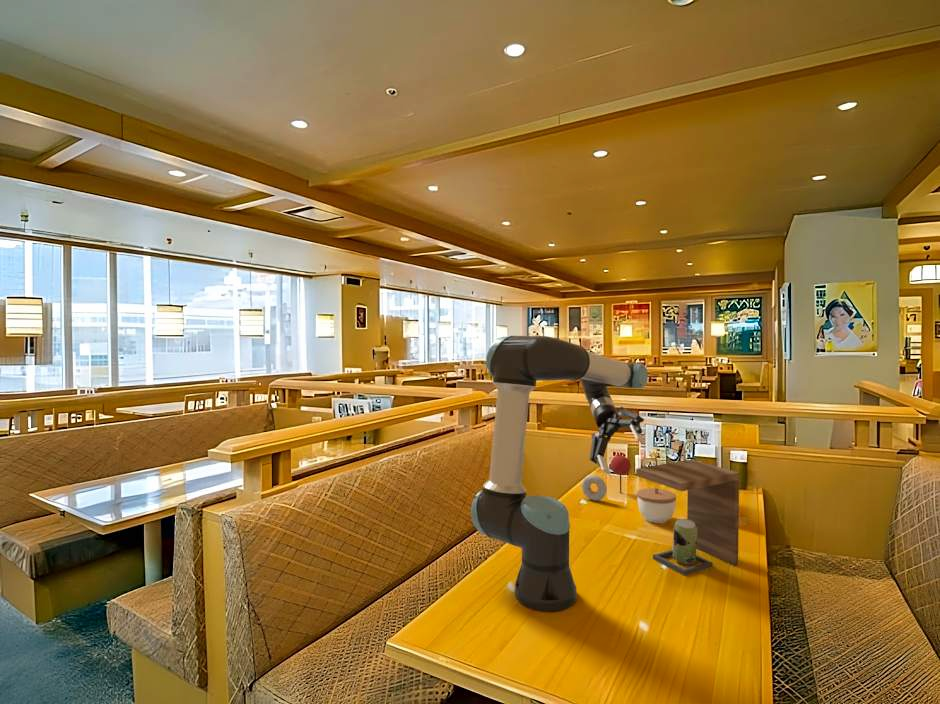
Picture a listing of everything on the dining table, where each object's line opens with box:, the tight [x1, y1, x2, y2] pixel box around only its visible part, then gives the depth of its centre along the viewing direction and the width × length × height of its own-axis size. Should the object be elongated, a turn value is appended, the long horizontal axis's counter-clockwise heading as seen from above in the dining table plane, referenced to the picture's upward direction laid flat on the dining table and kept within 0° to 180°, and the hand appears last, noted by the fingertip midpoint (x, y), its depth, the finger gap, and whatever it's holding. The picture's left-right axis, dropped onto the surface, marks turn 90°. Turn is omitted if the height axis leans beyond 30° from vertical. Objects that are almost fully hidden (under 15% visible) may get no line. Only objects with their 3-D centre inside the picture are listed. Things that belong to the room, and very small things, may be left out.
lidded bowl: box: [636, 487, 677, 524], centre depth 175 cm, size 13×13×11 cm
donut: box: [581, 474, 608, 502], centre depth 195 cm, size 10×4×10 cm, turn 52°
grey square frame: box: [652, 549, 714, 576], centre depth 143 cm, size 11×11×1 cm
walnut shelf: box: [635, 459, 740, 567], centre depth 143 cm, size 22×16×26 cm
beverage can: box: [672, 518, 697, 566], centre depth 143 cm, size 6×7×12 cm
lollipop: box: [609, 455, 632, 494], centre depth 204 cm, size 8×8×15 cm
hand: (623, 456), depth 143 cm, fingers open, 13 cm apart
